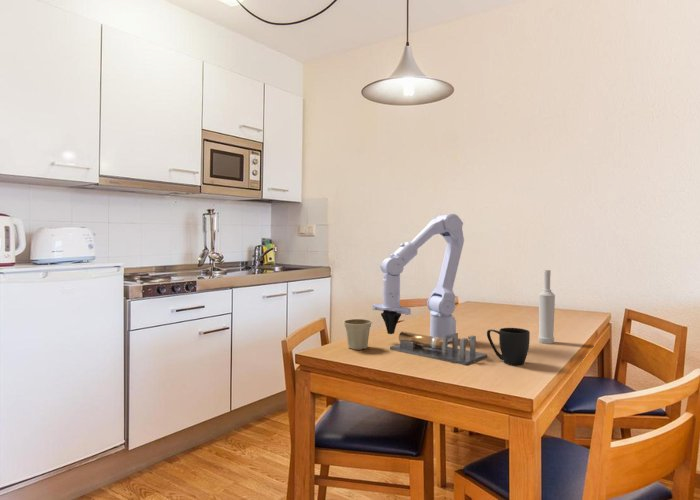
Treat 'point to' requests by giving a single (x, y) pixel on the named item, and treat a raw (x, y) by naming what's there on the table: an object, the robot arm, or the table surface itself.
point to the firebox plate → (437, 353)
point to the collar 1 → (445, 342)
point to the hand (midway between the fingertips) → (390, 333)
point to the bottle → (546, 312)
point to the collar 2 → (463, 346)
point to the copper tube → (422, 340)
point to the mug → (512, 345)
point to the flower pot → (357, 333)
